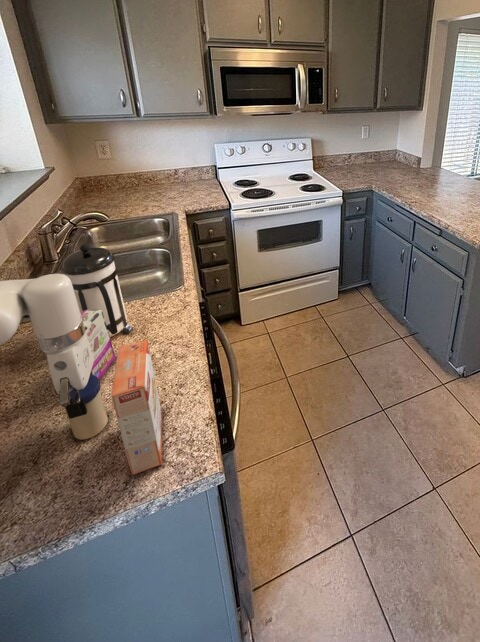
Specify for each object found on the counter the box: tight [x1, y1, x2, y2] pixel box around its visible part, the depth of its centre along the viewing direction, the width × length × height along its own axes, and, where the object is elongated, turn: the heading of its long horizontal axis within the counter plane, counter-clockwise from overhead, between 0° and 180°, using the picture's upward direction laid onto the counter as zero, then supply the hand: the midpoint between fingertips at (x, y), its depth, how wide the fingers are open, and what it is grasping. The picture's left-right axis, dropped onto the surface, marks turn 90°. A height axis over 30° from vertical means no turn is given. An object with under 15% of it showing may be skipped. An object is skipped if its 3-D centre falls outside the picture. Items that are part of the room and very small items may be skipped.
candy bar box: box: [81, 310, 117, 381], centre depth 91 cm, size 11×5×16 cm, turn 0°
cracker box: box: [110, 339, 163, 476], centre depth 73 cm, size 14×6×21 cm, turn 23°
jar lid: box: [58, 375, 102, 408], centre depth 77 cm, size 7×7×2 cm
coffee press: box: [60, 243, 133, 338], centre depth 104 cm, size 17×16×30 cm
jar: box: [63, 390, 109, 440], centre depth 78 cm, size 7×7×11 cm
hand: (82, 399), depth 77 cm, fingers closed on jar lid, 7 cm apart
